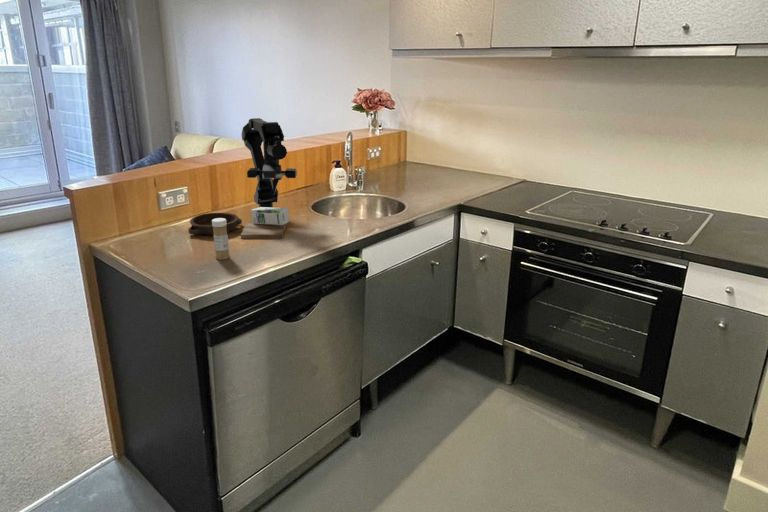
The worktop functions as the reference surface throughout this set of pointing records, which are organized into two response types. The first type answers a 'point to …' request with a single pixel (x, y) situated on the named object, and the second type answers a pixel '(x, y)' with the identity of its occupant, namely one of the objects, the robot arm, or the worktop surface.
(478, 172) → the worktop surface
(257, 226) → the cutting board
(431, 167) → the worktop surface
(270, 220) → the syrup box
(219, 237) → the sprinkles bottle
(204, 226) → the dish
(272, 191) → the robot arm
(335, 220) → the worktop surface
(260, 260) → the worktop surface
